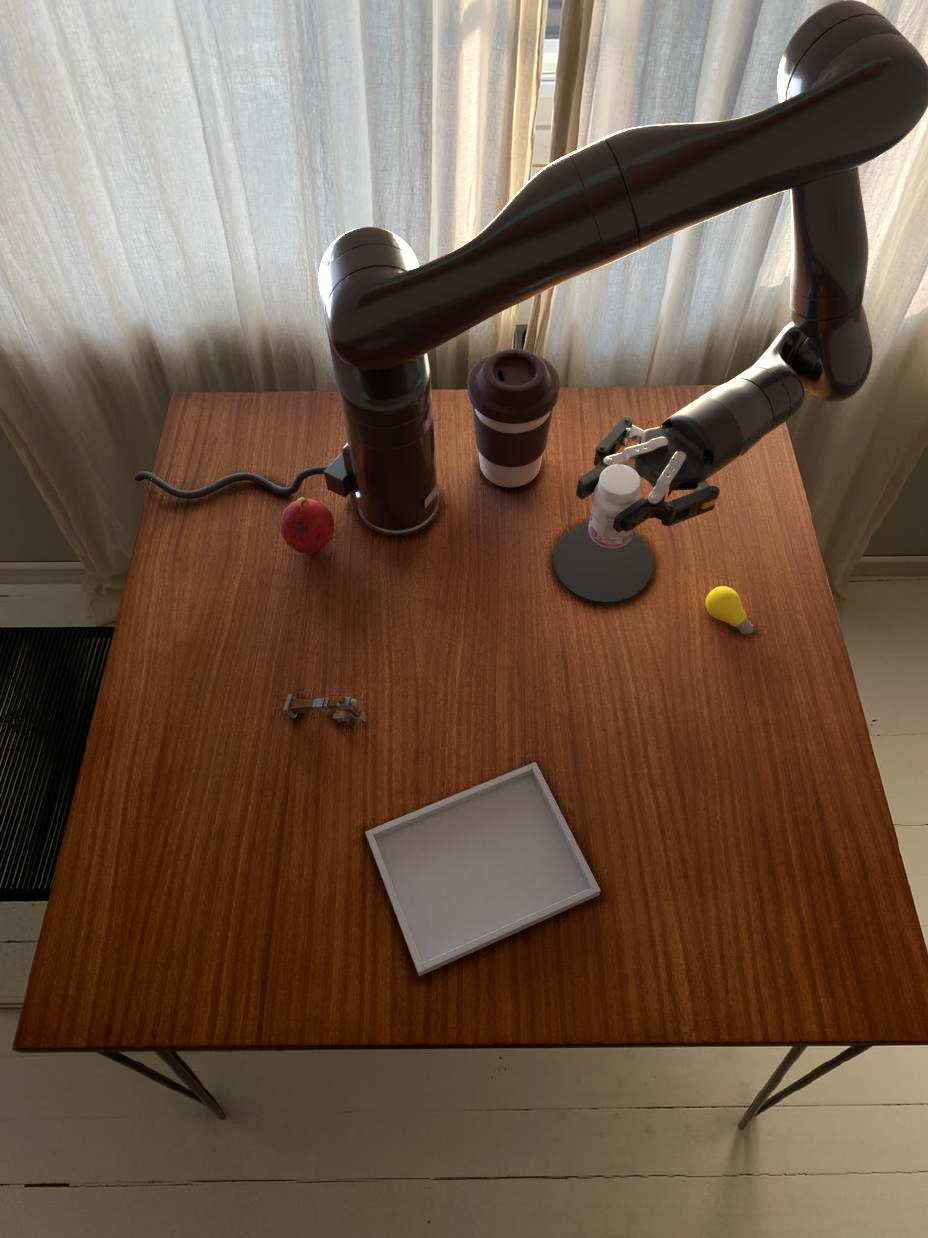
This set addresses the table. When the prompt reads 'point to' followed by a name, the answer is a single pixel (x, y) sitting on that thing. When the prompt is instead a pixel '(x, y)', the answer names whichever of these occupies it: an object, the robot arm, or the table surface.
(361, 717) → the wooden post with brackets
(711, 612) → the light bulb
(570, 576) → the mat
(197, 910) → the table surface
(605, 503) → the pill bottle
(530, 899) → the tray
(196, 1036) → the table surface
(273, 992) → the table surface
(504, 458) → the coffee cup
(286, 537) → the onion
